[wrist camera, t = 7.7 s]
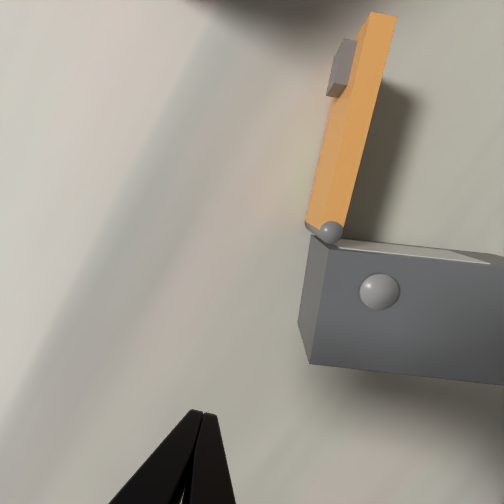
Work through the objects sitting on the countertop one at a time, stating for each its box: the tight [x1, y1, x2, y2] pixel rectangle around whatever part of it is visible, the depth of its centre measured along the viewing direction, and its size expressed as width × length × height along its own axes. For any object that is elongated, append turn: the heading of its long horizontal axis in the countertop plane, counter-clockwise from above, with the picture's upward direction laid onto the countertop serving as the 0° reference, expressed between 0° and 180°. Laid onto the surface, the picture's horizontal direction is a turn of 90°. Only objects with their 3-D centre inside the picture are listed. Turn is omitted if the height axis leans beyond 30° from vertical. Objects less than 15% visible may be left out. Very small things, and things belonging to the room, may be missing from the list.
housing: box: [298, 235, 504, 385], centre depth 17 cm, size 7×14×5 cm, turn 84°
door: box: [305, 12, 397, 244], centre depth 15 cm, size 2×11×5 cm, turn 170°
